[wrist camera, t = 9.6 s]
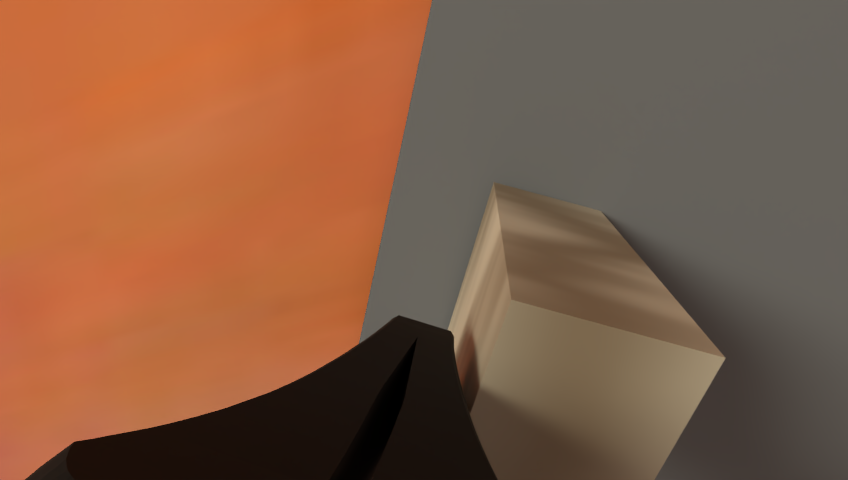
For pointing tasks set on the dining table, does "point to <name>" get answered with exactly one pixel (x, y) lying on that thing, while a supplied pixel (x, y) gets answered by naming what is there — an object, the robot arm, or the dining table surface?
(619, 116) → the mat
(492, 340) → the light wood block
